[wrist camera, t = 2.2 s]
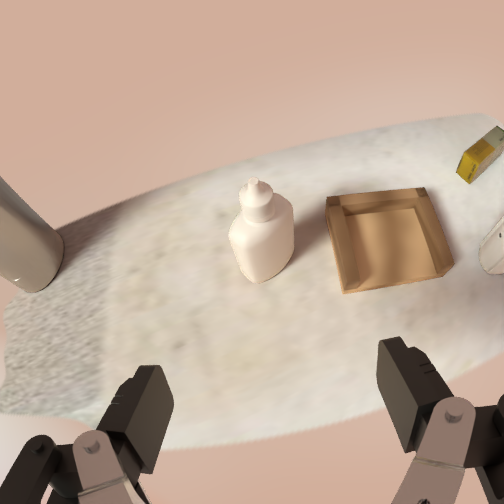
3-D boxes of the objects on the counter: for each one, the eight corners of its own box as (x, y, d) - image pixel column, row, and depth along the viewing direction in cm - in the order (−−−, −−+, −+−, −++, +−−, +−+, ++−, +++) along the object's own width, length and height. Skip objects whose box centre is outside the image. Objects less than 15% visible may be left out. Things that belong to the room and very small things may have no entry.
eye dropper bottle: (236, 249, 32) (207, 169, 22) (289, 234, 32) (283, 149, 22) (246, 288, 30) (218, 218, 20) (302, 271, 30) (304, 194, 20)
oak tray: (342, 294, 28) (347, 282, 26) (324, 214, 33) (326, 197, 30) (442, 276, 28) (454, 263, 25) (416, 203, 32) (424, 187, 29)
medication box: (488, 142, 36) (497, 124, 32) (501, 154, 34) (510, 135, 31) (454, 172, 34) (463, 151, 30) (469, 186, 32) (479, 165, 29)
